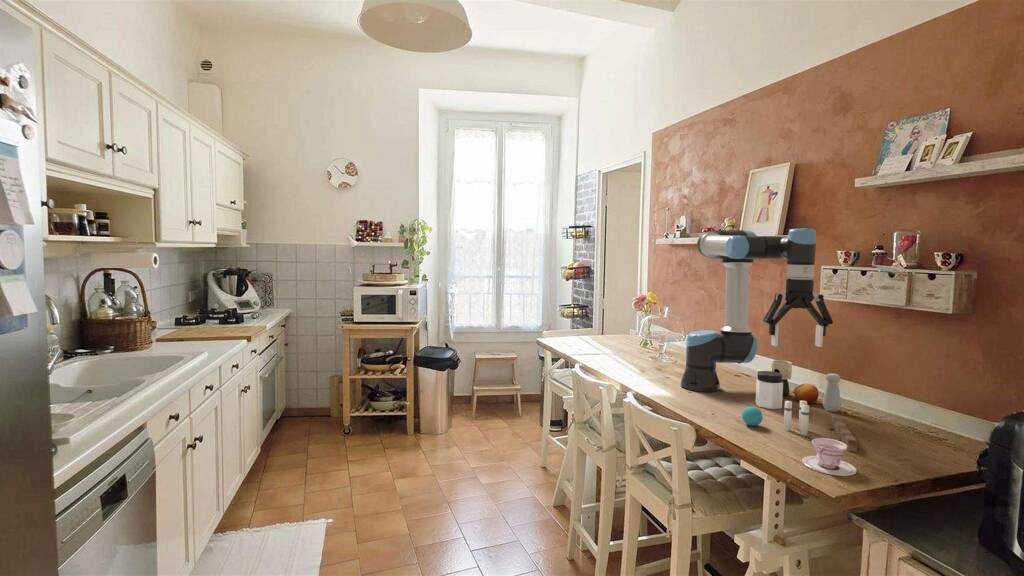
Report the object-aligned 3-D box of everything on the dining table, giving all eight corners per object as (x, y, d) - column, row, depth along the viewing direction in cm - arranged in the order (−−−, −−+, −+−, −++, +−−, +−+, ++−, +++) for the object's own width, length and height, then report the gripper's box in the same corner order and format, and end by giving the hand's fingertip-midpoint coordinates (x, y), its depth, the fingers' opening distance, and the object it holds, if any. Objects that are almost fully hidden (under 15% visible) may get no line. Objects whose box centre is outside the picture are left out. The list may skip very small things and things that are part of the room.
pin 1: (796, 428, 159) (798, 400, 158) (803, 428, 159) (804, 400, 158) (800, 430, 157) (802, 402, 156) (807, 430, 157) (808, 402, 156)
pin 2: (798, 433, 154) (799, 404, 154) (805, 433, 154) (806, 404, 154) (802, 435, 152) (804, 406, 151) (809, 435, 152) (811, 406, 152)
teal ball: (738, 422, 164) (738, 404, 164) (756, 422, 164) (756, 404, 164) (747, 428, 158) (748, 409, 158) (766, 428, 158) (766, 409, 158)
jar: (751, 405, 183) (753, 373, 182) (758, 401, 189) (760, 369, 188) (778, 411, 176) (780, 377, 176) (785, 406, 182) (786, 373, 182)
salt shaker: (843, 410, 178) (845, 374, 177) (838, 413, 174) (840, 376, 173) (824, 406, 182) (826, 371, 181) (819, 409, 178) (821, 373, 177)
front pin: (782, 428, 158) (783, 400, 158) (788, 428, 158) (789, 400, 158) (785, 431, 156) (787, 402, 155) (792, 431, 156) (793, 402, 156)
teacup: (814, 454, 139) (815, 432, 138) (864, 469, 129) (865, 446, 129) (793, 464, 131) (794, 441, 131) (845, 481, 122) (846, 456, 121)
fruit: (827, 402, 183) (816, 383, 183) (806, 411, 184) (795, 392, 185) (818, 396, 191) (808, 377, 191) (799, 405, 192) (788, 387, 193)
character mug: (763, 390, 203) (765, 358, 202) (781, 390, 204) (782, 359, 203) (779, 398, 192) (781, 364, 191) (797, 398, 193) (799, 364, 192)
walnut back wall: (856, 452, 140) (857, 441, 140) (848, 450, 141) (848, 440, 140) (838, 425, 162) (839, 416, 162) (831, 424, 163) (832, 415, 162)
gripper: (764, 278, 153) (761, 347, 154) (848, 279, 152) (844, 348, 153) (753, 277, 160) (750, 343, 162) (833, 278, 159) (829, 344, 161)
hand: (796, 346), depth 158 cm, fingers open, 13 cm apart
